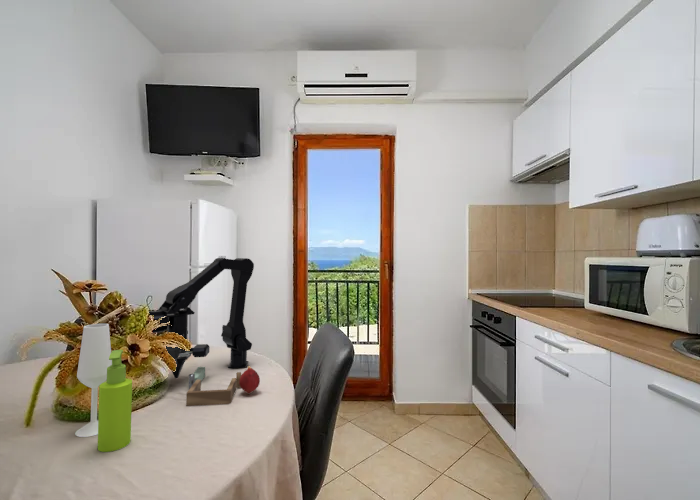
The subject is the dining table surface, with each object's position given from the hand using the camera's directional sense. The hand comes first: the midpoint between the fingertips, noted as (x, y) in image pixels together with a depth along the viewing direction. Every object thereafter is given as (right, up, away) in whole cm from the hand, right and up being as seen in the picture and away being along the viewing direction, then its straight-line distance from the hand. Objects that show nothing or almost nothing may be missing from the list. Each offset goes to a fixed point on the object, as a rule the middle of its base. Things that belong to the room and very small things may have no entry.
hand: (176, 378), depth 112 cm
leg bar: (+7, -1, 0) cm, 7 cm away
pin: (+8, -1, -7) cm, 10 cm away
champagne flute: (-4, -1, -31) cm, 31 cm away
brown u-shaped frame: (+16, -1, -11) cm, 20 cm away
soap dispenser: (+6, -1, -38) cm, 38 cm away
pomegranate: (+26, -2, -9) cm, 27 cm away
